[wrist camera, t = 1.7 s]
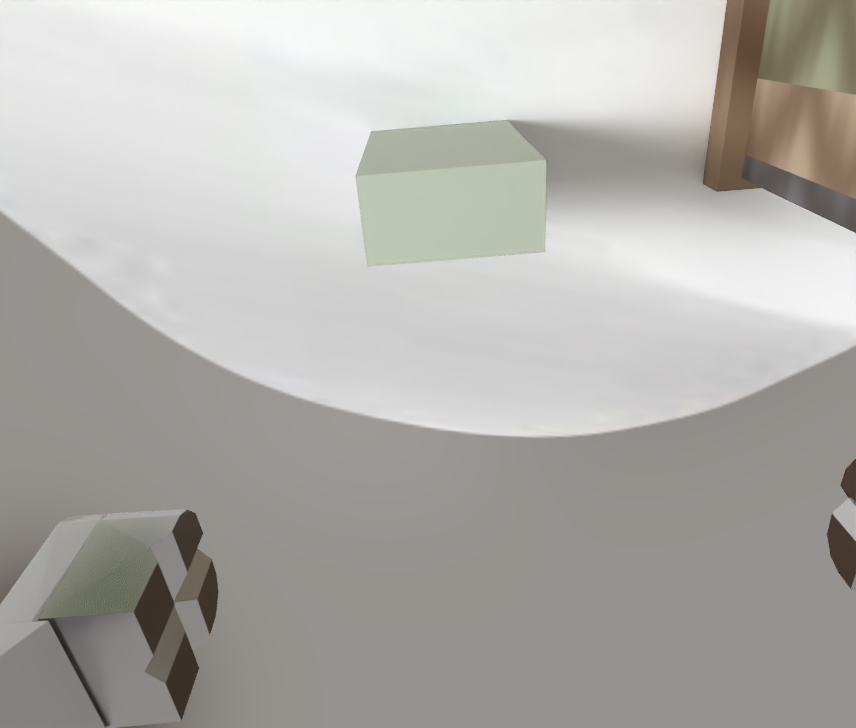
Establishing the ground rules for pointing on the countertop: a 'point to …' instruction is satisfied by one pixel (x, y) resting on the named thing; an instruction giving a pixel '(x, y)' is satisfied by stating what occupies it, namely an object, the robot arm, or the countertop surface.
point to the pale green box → (451, 193)
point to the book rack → (788, 104)
